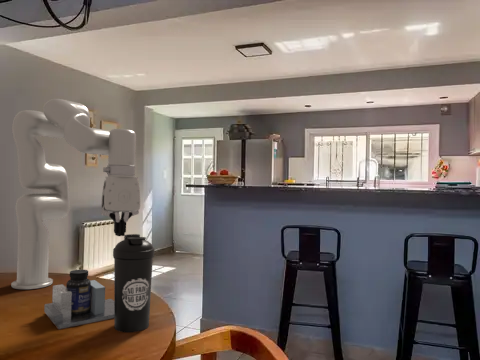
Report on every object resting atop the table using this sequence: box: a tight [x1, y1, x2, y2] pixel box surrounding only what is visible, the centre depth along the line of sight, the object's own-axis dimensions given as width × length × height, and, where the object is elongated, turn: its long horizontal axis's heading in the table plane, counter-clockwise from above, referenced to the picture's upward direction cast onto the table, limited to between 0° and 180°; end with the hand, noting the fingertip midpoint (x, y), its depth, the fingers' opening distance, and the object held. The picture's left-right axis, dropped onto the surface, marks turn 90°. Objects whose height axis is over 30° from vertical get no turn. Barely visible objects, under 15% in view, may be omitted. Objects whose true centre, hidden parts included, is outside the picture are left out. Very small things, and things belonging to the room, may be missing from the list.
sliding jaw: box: [90, 279, 106, 315], centre depth 107 cm, size 9×2×7 cm, turn 38°
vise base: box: [44, 283, 114, 330], centre depth 105 cm, size 14×19×8 cm
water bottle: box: [112, 233, 155, 333], centre depth 98 cm, size 10×10×23 cm
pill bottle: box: [65, 269, 91, 315], centre depth 104 cm, size 6×6×11 cm
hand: (119, 235), depth 111 cm, fingers closed
